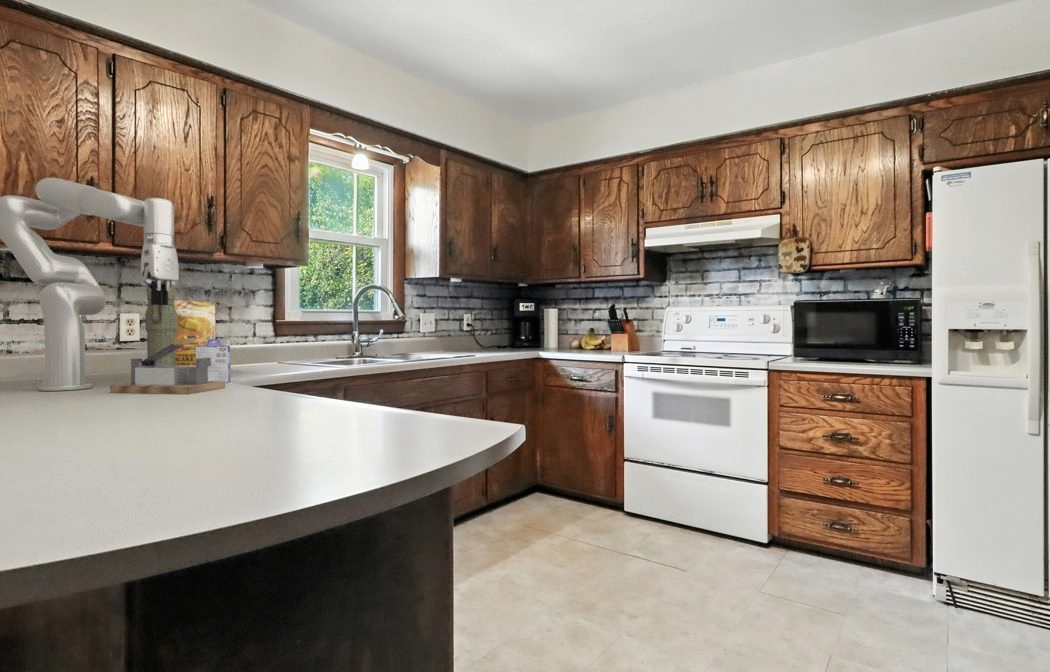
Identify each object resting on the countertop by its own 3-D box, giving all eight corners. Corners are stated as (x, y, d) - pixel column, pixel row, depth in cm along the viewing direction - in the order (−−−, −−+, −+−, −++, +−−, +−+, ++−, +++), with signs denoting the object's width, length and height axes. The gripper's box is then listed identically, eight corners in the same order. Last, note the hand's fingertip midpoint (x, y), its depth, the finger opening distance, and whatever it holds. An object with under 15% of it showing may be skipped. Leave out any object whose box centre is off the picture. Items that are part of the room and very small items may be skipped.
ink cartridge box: (231, 381, 200) (230, 338, 200) (229, 382, 195) (228, 339, 195) (198, 382, 197) (198, 339, 197) (195, 383, 192) (195, 339, 192)
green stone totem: (142, 385, 185) (141, 274, 184) (149, 382, 196) (148, 277, 195) (174, 384, 188) (173, 275, 188) (180, 381, 199) (179, 278, 198)
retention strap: (134, 367, 170) (133, 364, 170) (150, 366, 176) (148, 363, 176) (185, 338, 168) (183, 335, 168) (199, 338, 174) (197, 334, 174)
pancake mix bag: (154, 380, 204) (154, 299, 204) (216, 377, 213) (216, 300, 213) (153, 381, 198) (152, 298, 198) (217, 379, 208) (216, 299, 207)
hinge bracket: (131, 384, 169) (131, 358, 169) (150, 381, 177) (150, 357, 176) (138, 384, 169) (138, 358, 169) (158, 382, 176) (157, 357, 176)
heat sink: (135, 385, 167) (135, 367, 167) (166, 381, 179) (165, 364, 178) (174, 385, 165) (173, 368, 165) (202, 381, 177) (202, 365, 177)
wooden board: (110, 392, 165) (110, 385, 165) (153, 386, 181) (152, 380, 181) (188, 394, 162) (188, 386, 162) (225, 388, 178) (225, 381, 178)
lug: (188, 384, 168) (188, 358, 168) (200, 383, 173) (200, 357, 173) (199, 384, 168) (199, 358, 168) (210, 383, 173) (210, 357, 173)
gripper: (150, 237, 163) (151, 303, 164) (189, 245, 179) (189, 305, 179) (126, 238, 164) (126, 303, 165) (166, 245, 180) (167, 305, 180)
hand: (159, 304), depth 172 cm, fingers closed
